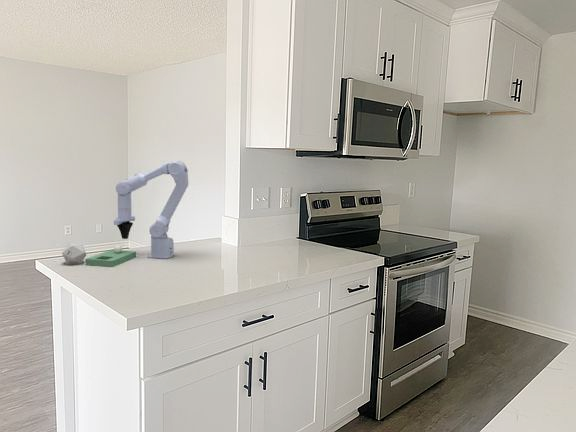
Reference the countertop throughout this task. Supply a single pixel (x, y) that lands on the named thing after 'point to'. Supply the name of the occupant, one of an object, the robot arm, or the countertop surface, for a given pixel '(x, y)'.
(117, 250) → the ball
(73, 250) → the die
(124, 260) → the green
